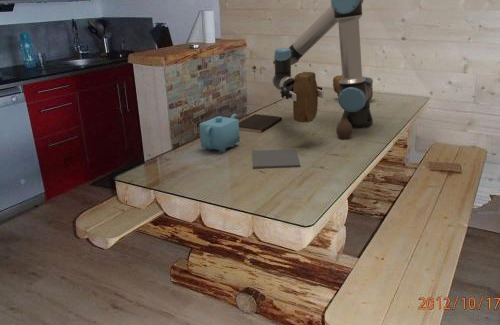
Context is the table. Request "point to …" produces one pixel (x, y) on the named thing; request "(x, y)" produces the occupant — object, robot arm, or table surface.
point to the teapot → (219, 133)
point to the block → (305, 97)
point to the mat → (275, 158)
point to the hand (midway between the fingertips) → (309, 96)
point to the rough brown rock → (337, 87)
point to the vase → (344, 129)
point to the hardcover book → (259, 123)
